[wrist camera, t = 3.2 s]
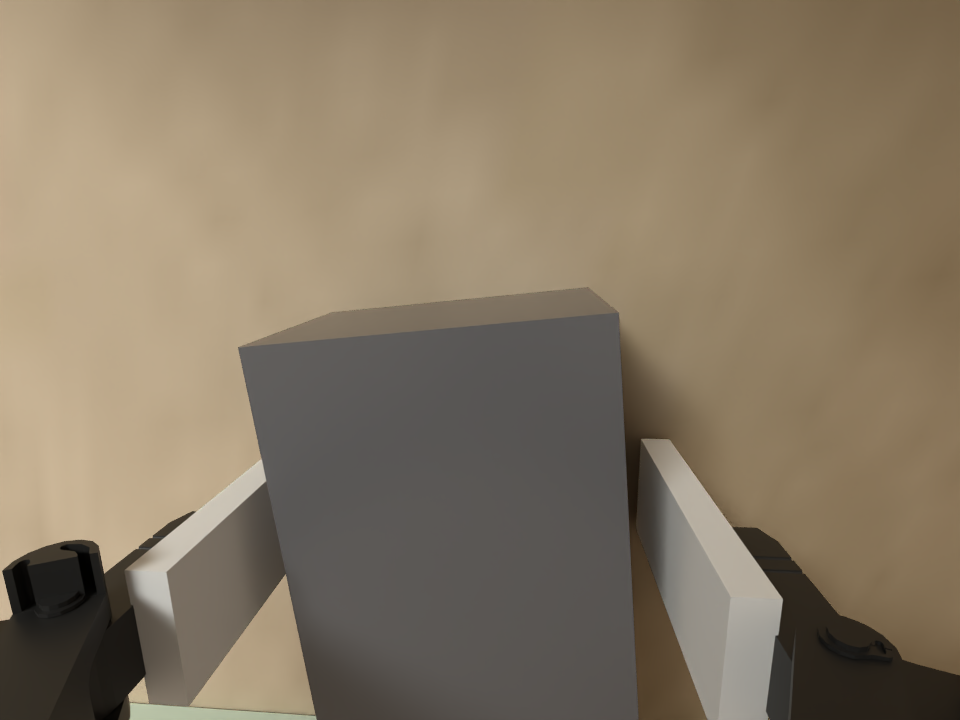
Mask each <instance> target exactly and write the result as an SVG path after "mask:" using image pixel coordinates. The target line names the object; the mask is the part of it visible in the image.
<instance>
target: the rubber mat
mask: <svg viewBox="0 0 960 720" xmlns="http://www.w3.org/2000/svg"><path fill="white" fill-rule="evenodd" d="M129 720H317V719H316V716H311V715H296V714H282V713H268V712H253V711H239V710H224V709H210V708H196V707H181V706H167V705H152V704H138V703H130V719H129Z"/></svg>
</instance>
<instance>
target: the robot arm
mask: <svg viewBox="0 0 960 720" xmlns="http://www.w3.org/2000/svg"><path fill="white" fill-rule="evenodd" d="M636 530H637V532H638V535H639V538H640V540H641V543H642V546H643V548H644V551H645V554H646V556H647V559H648V562H649V565H650V567H651V570H652V573H653V575H654V578H655V581H656V583H657V586H658V589H659V591H660V594H661V597H662V599H663V602H664V605H665V607H666V610H667V613H668V615H669V618H670V621H671V623H672V626H673V629H674V632H675V634H676V637H677V640H678V642H679V645H680V648H681V650H682V653H683V656H684V658H685V661H686V664H687V666H688V669H689V672H690V674H691V677H692V680H693V682H694V685H695V688H696V691H697V693H698V696H699V699H700V701H701V704H702V707H703V709H704V712H705V715H706V717H707V720H768V717H769V719H770V720H960V676H959V675H955V674H951V673H947V672H944V671H940V670H936V669H932V668H928V667H924V666H920V665H917V664H914V663H911V662H907V661H904V660H902V658H901V656H900V654H899V652H898V650H897V649H896V647H895V646H893V645H892V644H891V643H890V642H889V641H888V640H887V639H886V638H885V637H884V636H883V635H881V634H880V633H878V632H876V631H875V630H873V629H871V628H870V627H868V626H866V625H865V624H862V623H860V622H857V621H855V620H852V619H850V618H847V617H844V616H839V615H838V613H837V612H836V611H835V610H834V609H833V607H832V606H831V605H830V604H829V603H828V601H827V600H826V599H825V598H824V597H823V595H822V594H821V593H820V592H819V591H818V589H817V588H816V587H815V586H814V585H813V583H812V582H811V581H810V580H809V579H808V577H807V576H806V575H805V574H802V570H801V569H800V568H799V566H798V565H797V564H796V563H795V562H794V561H792V560H791V557H790V556H789V554H788V553H787V552H786V551H785V550H784V548H783V547H782V546H781V545H780V544H779V542H778V541H776V540H775V539H773V538H771V537H770V536H768V535H767V534H765V533H764V532H762V531H761V530H759V529H758V528H741V527H731V525H730V524H729V523H728V521H727V520H726V518H725V517H724V516H723V514H722V513H721V511H720V510H719V508H718V507H717V506H716V504H715V503H714V501H713V500H712V499H711V497H710V496H709V494H708V493H707V492H706V490H705V489H704V487H703V486H702V485H701V483H700V482H699V480H698V479H697V477H696V476H695V475H694V473H693V472H692V470H691V469H690V468H689V466H688V465H687V463H686V462H685V461H684V459H683V458H682V456H681V455H680V454H679V452H678V451H677V449H676V448H675V446H674V445H673V444H672V442H671V441H670V439H641V448H640V466H639V484H638V502H637V521H636ZM2 572H3V576H4V580H5V584H6V588H7V592H8V596H9V600H10V604H11V609H12V613H13V615H12V616H11V618H10V619H9V620H4V621H0V720H129V719H130V703H129V698H128V694H129V693H130V692H131V691H132V690H133V688H134V687H135V686H136V685H137V684H138V683H139V682H140V681H141V679H142V678H143V677H144V678H145V683H146V688H147V694H148V699H149V704H162V705H177V706H189V705H190V704H191V703H192V701H193V700H194V699H195V697H196V696H197V694H198V693H199V692H200V690H201V689H202V688H203V686H204V685H205V684H206V682H207V681H208V679H209V678H210V677H211V675H212V674H213V673H214V671H215V670H216V668H217V667H218V666H219V664H220V663H221V662H222V660H223V659H224V657H225V656H226V655H227V653H228V652H229V651H230V649H231V648H232V647H233V645H234V644H235V642H236V641H237V640H238V638H239V637H240V636H241V634H242V633H243V631H244V630H245V629H246V627H247V626H248V625H249V623H250V622H251V621H252V619H253V618H254V616H255V615H256V614H257V612H258V611H259V610H260V608H261V607H262V605H263V604H264V603H265V601H266V600H267V599H268V597H269V596H270V594H271V593H272V592H273V590H274V589H275V588H276V586H277V585H278V584H279V582H280V581H281V579H282V578H283V577H284V575H285V574H286V572H285V567H284V562H283V558H282V553H281V548H280V543H279V539H278V534H277V529H276V524H275V520H274V515H273V510H272V505H271V501H270V496H269V491H268V487H267V482H266V477H265V472H264V468H263V463H262V459H261V460H259V461H258V462H257V463H256V464H254V465H253V466H252V467H251V468H249V469H248V470H247V471H246V472H245V473H243V474H242V475H241V476H240V477H238V478H237V479H236V480H235V481H233V482H232V483H231V484H230V485H229V486H227V487H226V488H225V489H224V490H222V491H221V492H220V493H219V494H217V495H216V496H215V497H214V498H213V499H211V500H210V501H209V502H208V503H206V504H205V505H204V506H203V507H202V508H200V509H199V510H198V511H197V512H194V511H192V512H190V513H188V514H186V515H184V516H182V517H180V518H178V519H176V520H174V521H172V522H170V523H168V524H167V525H166V526H165V527H163V528H162V529H161V530H160V531H158V532H157V533H156V534H154V535H153V538H149V539H148V540H147V541H145V542H144V543H143V544H142V545H140V546H139V549H135V550H134V551H133V552H131V553H130V554H129V555H128V556H126V557H125V558H124V559H123V560H121V561H120V562H119V563H117V564H116V565H115V566H114V567H112V568H111V569H110V570H108V571H107V572H106V573H105V574H104V571H103V566H102V561H101V556H100V551H99V546H98V545H97V544H96V543H94V542H93V541H87V540H73V541H64V542H60V543H57V544H53V545H49V546H45V547H43V548H40V549H38V550H35V551H32V552H30V553H28V554H26V555H24V556H22V557H20V558H19V559H17V560H15V561H13V562H12V563H11V564H10V565H8V566H7V567H6V568H5V569H4V570H3V571H2Z"/></svg>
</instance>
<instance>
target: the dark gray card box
mask: <svg viewBox="0 0 960 720" xmlns="http://www.w3.org/2000/svg"><path fill="white" fill-rule="evenodd" d="M238 349H239V354H240V359H241V363H242V368H243V373H244V378H245V382H246V387H247V392H248V397H249V401H250V406H251V411H252V415H253V420H254V425H255V430H256V434H257V439H258V444H259V449H260V453H261V458H262V463H263V468H264V472H265V477H266V482H267V487H268V491H269V496H270V501H271V505H272V510H273V515H274V520H275V524H276V529H277V534H278V539H279V543H280V548H281V553H282V558H283V562H284V567H285V572H286V576H287V581H288V586H289V591H290V595H291V600H292V605H293V610H294V614H295V619H296V624H297V629H298V633H299V638H300V643H301V647H302V652H303V657H304V662H305V666H306V671H307V676H308V681H309V685H310V690H311V695H312V700H313V704H314V709H315V714H316V719H317V720H639V717H638V697H637V676H636V656H635V636H634V615H633V595H632V575H631V554H630V534H629V514H628V493H627V473H626V453H625V432H624V412H623V392H622V371H621V351H620V331H619V312H617V311H616V310H615V309H614V308H612V307H611V306H610V305H609V304H608V303H606V302H605V301H604V300H603V299H601V298H600V297H599V296H598V295H597V294H595V293H594V292H593V291H592V290H591V289H589V288H578V289H567V290H557V291H547V292H537V293H526V294H516V295H506V296H496V297H485V298H475V299H465V300H455V301H445V302H434V303H424V304H414V305H404V306H393V307H383V308H373V309H363V310H352V311H342V312H332V313H329V314H326V315H324V316H321V317H318V318H316V319H313V320H310V321H308V322H305V323H302V324H300V325H297V326H294V327H292V328H289V329H286V330H283V331H281V332H278V333H275V334H273V335H270V336H267V337H265V338H262V339H259V340H257V341H254V342H251V343H249V344H246V345H243V346H241V347H238Z"/></svg>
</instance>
